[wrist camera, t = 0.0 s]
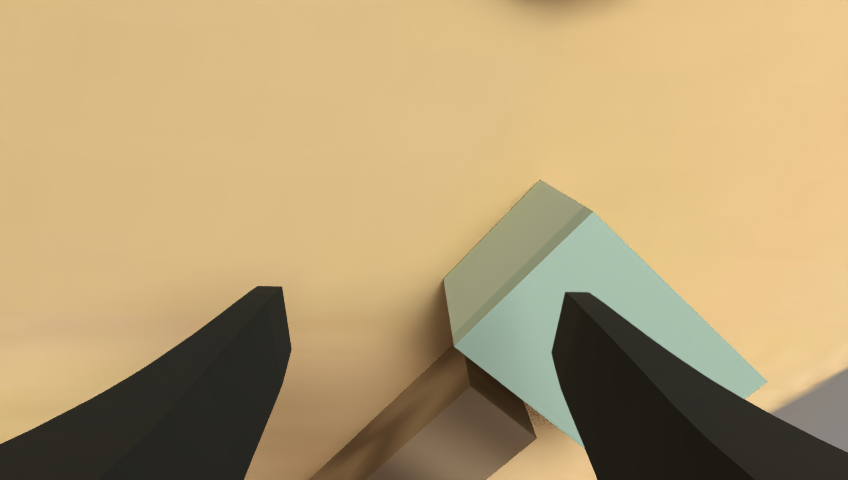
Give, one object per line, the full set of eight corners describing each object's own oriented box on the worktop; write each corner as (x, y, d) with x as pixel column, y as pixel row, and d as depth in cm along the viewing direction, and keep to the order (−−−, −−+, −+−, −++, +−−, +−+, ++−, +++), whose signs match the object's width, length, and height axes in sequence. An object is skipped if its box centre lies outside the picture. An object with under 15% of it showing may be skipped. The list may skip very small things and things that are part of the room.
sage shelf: (576, 389, 24) (631, 484, 18) (443, 279, 22) (454, 346, 16) (672, 307, 23) (767, 381, 17) (540, 179, 20) (593, 211, 14)
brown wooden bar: (361, 515, 27) (351, 589, 23) (306, 480, 26) (285, 551, 22) (515, 380, 24) (536, 438, 20) (460, 335, 23) (470, 386, 19)
